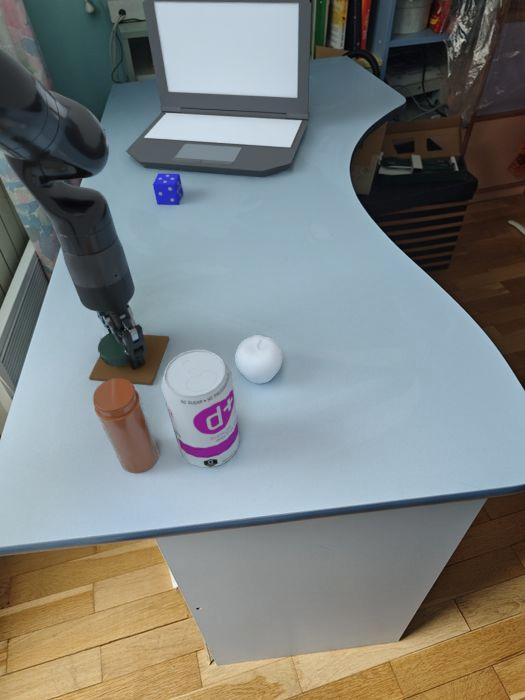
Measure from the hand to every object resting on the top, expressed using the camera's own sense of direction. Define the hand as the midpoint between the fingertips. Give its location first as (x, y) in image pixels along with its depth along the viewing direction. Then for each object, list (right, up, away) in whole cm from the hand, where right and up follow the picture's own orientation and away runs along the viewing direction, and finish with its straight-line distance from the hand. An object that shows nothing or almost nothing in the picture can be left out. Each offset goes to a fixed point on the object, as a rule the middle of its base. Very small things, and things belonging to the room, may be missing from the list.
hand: (129, 354), depth 77 cm
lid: (-1, +1, -3) cm, 3 cm away
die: (0, +35, +35) cm, 50 cm away
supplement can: (+14, -12, -10) cm, 21 cm away
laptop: (+10, +54, +52) cm, 76 cm away
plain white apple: (+21, -3, -2) cm, 21 cm away
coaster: (0, -1, +1) cm, 1 cm away
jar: (+5, -14, -12) cm, 18 cm away
